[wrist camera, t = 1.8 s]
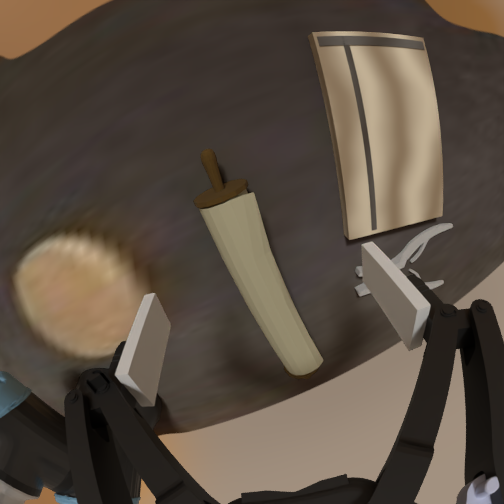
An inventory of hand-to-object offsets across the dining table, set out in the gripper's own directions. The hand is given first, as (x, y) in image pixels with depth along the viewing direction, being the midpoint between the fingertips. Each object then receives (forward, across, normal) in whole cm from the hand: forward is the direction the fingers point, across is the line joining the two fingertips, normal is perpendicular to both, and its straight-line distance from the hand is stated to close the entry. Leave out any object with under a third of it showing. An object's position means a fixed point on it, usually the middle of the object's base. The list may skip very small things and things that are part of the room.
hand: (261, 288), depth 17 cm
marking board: (+12, -16, -6) cm, 21 cm away
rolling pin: (+12, 0, +8) cm, 15 cm away
